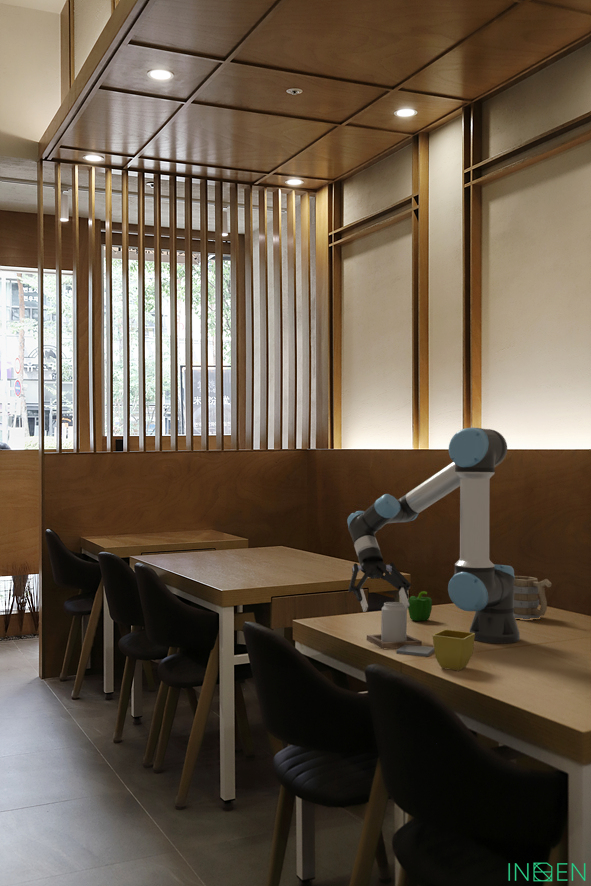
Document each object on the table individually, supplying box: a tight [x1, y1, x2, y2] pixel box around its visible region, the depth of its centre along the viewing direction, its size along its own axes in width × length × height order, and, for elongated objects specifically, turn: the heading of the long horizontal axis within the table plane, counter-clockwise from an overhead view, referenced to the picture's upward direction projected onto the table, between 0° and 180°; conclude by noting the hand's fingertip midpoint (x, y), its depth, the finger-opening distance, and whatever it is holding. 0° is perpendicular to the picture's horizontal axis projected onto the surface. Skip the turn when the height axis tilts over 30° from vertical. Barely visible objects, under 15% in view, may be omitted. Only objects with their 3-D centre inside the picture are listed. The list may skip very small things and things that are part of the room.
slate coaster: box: [395, 645, 435, 657], centre depth 236 cm, size 9×9×1 cm
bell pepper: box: [407, 591, 433, 622], centre depth 285 cm, size 8×8×10 cm
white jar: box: [380, 601, 408, 642], centre depth 247 cm, size 8×8×12 cm
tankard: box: [514, 575, 553, 619], centre depth 290 cm, size 20×13×15 cm, turn 25°
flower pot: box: [432, 629, 475, 672], centre depth 218 cm, size 9×9×9 cm
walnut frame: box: [366, 633, 423, 650], centre depth 247 cm, size 12×12×2 cm
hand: (386, 608), depth 250 cm, fingers open, 13 cm apart
